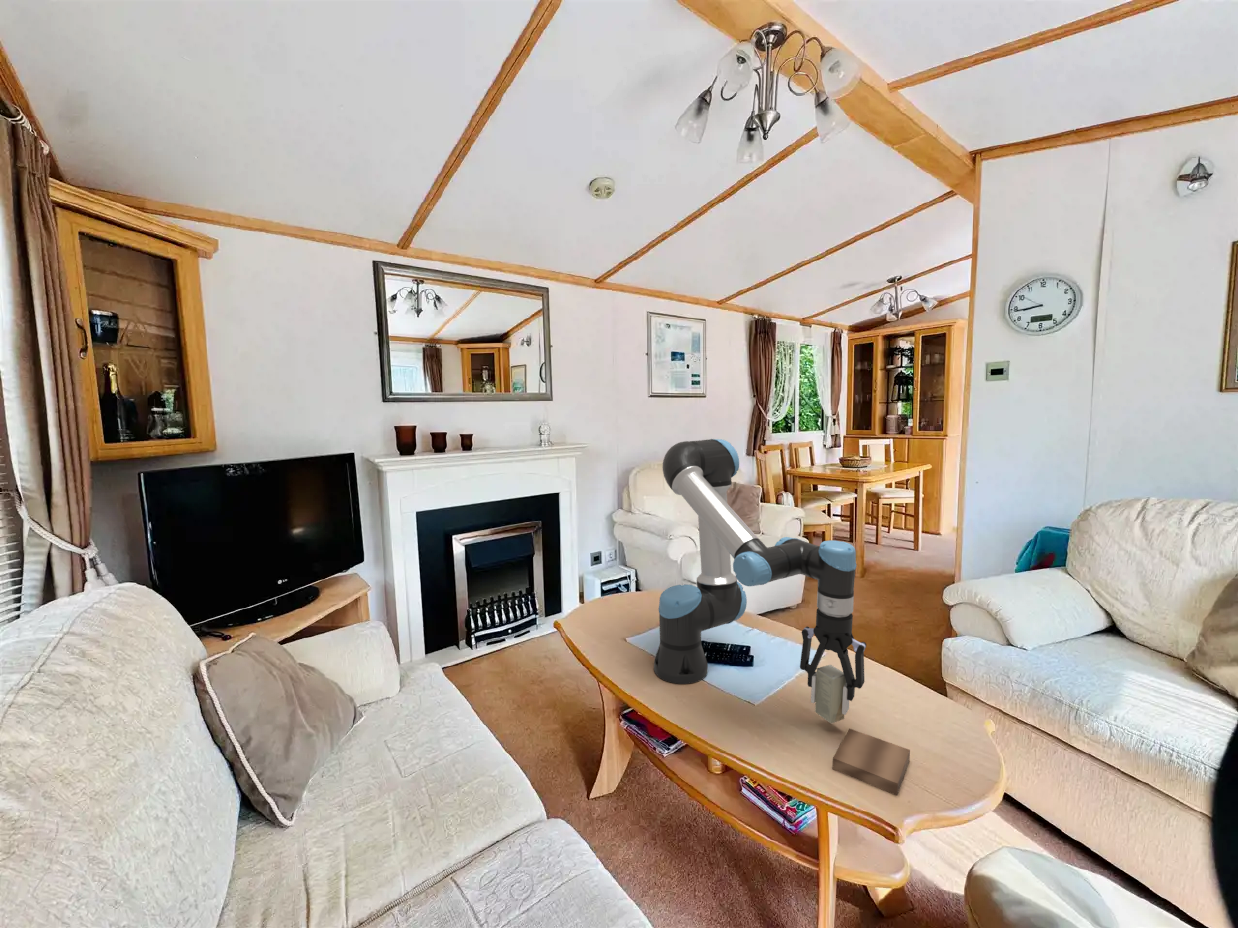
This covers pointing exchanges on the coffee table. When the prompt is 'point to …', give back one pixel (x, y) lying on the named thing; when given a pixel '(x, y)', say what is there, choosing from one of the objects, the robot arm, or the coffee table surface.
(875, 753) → the walnut block
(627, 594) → the coffee table surface
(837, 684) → the box
